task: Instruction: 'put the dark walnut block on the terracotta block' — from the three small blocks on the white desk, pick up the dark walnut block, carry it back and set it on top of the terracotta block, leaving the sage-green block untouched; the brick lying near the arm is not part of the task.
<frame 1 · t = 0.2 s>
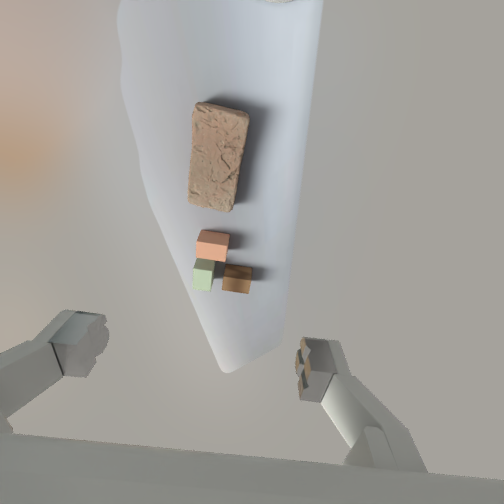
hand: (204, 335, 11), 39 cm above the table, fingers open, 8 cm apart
walnut block: (238, 272, 60), on the table
brick: (219, 158, 45), on the table
terracotta block: (215, 239, 55), on the table
sage block: (206, 267, 59), on the table
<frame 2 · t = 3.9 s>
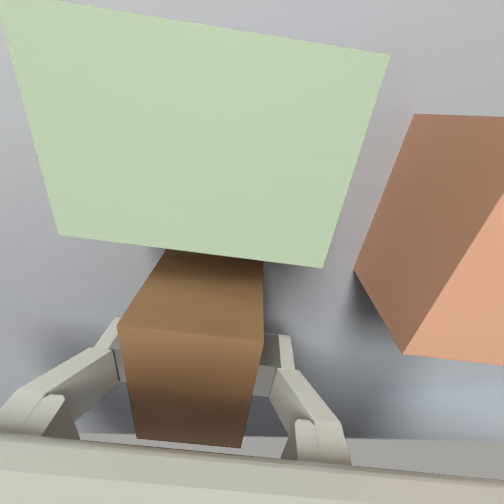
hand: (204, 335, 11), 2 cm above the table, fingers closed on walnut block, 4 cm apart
walnut block: (212, 305, 12), on the table, touching gripper
terracotta block: (428, 209, 10), on the table
sage block: (224, 137, 9), on the table
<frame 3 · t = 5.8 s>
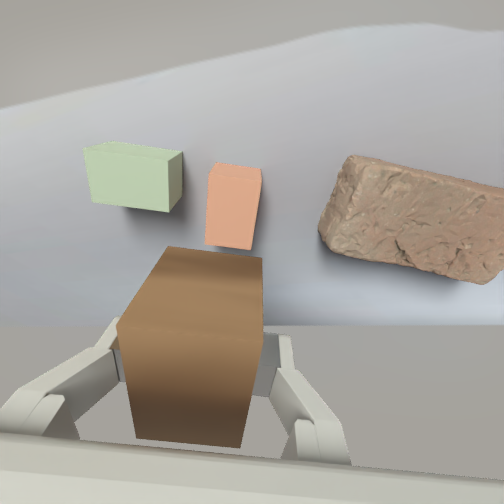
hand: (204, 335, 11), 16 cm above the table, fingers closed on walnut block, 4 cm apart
walnut block: (211, 305, 12), point 14 cm above the table, touching gripper
brick: (405, 212, 26), on the table
terracotta block: (235, 197, 25), on the table
sage block: (149, 169, 23), on the table
when the fingers open (8 cm above the table, at t = 8.0 s): walnut block drops 2 cm, resting on terracotta block.
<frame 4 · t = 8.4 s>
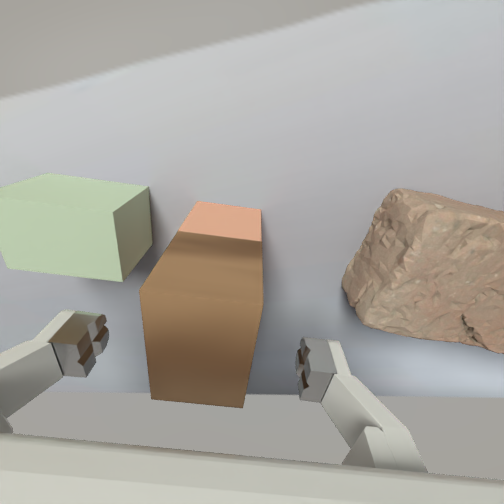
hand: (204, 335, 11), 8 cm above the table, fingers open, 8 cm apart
walnut block: (216, 286, 14), point 4 cm above the table, touching terracotta block
brick: (466, 263, 18), on the table
terracotta block: (225, 246, 18), on the table, touching walnut block
sage block: (104, 210, 17), on the table
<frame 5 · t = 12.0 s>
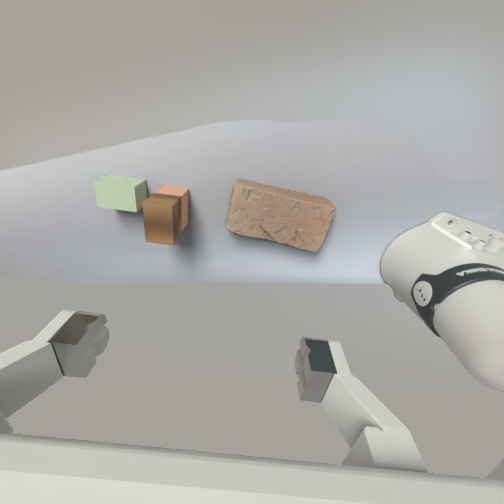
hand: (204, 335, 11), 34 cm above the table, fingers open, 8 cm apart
walnut block: (168, 213, 40), point 4 cm above the table, touching terracotta block
brick: (276, 210, 44), on the table
terracotta block: (176, 204, 44), on the table, touching walnut block
sage block: (128, 189, 43), on the table
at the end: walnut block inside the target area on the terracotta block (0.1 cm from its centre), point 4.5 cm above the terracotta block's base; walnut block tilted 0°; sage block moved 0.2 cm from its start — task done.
